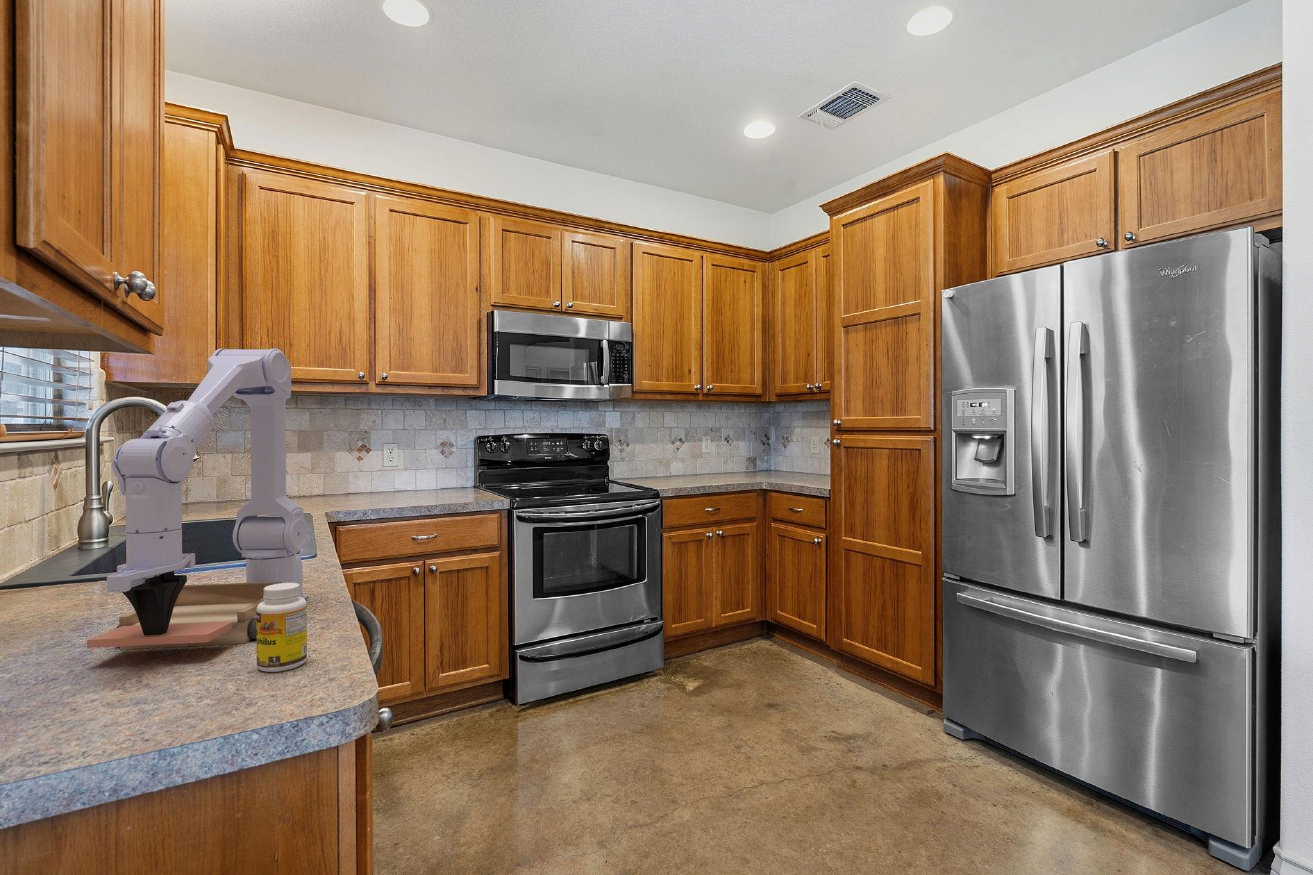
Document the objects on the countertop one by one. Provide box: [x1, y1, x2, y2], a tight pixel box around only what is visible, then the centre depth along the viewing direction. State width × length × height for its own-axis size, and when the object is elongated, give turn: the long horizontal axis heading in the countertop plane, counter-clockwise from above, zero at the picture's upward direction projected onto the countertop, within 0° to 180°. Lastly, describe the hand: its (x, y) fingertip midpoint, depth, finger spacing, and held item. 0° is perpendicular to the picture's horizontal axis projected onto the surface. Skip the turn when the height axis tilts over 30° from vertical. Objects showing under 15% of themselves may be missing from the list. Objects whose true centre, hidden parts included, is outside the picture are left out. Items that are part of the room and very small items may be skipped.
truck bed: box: [115, 582, 282, 650], centre depth 94 cm, size 12×18×6 cm, turn 98°
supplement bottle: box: [256, 583, 308, 673], centre depth 81 cm, size 6×6×10 cm
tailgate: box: [86, 621, 237, 649], centre depth 84 cm, size 1×14×7 cm
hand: (155, 634), depth 82 cm, fingers closed, pressing on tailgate
